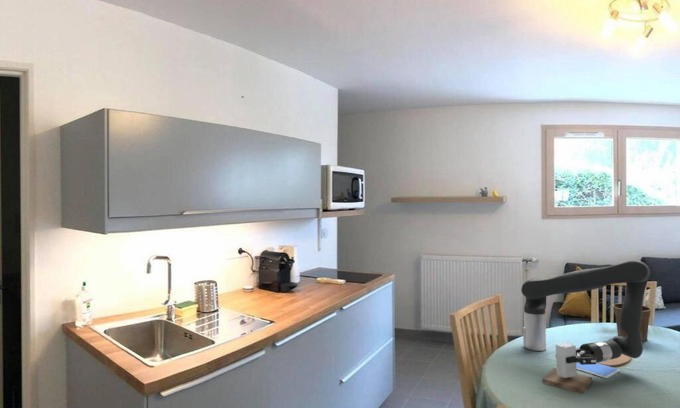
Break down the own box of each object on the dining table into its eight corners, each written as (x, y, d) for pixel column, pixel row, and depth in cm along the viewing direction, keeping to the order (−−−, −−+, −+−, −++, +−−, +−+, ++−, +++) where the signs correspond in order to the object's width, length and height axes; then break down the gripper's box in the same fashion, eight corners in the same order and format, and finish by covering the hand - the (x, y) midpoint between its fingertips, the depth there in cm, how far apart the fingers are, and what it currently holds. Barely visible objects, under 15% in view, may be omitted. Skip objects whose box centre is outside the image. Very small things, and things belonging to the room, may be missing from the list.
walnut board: (542, 382, 160) (542, 378, 160) (553, 371, 170) (553, 367, 170) (583, 393, 150) (582, 389, 150) (592, 380, 160) (592, 377, 160)
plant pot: (613, 331, 217) (612, 301, 217) (651, 336, 208) (650, 305, 208) (612, 340, 204) (611, 308, 204) (652, 346, 195) (652, 312, 195)
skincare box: (567, 371, 163) (566, 341, 163) (577, 376, 159) (576, 345, 159) (555, 374, 161) (554, 343, 161) (565, 378, 157) (564, 347, 157)
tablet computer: (557, 364, 178) (557, 361, 178) (572, 357, 185) (572, 355, 185) (606, 380, 162) (605, 376, 162) (620, 372, 169) (620, 369, 169)
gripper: (580, 337, 171) (547, 342, 166) (611, 349, 157) (576, 355, 152) (581, 355, 171) (547, 361, 166) (612, 368, 157) (576, 375, 152)
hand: (561, 358), depth 159 cm, fingers closed on skincare box, 4 cm apart
